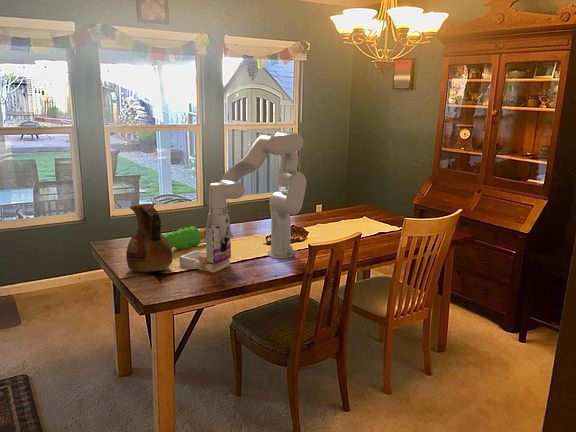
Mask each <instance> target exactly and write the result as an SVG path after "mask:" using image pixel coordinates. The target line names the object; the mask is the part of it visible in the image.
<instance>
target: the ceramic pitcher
mask: <svg viewBox="0 0 576 432" xmlns="http://www.w3.org/2000/svg"><path fill="white" fill-rule="evenodd" d="M154 206H155V203H140V204H138V203H137V204H133V205H131V206H129V209H130V210H132V211H133V212H134V214H135V216H136V217H135V218H136V221H137V230H136V232H135V233H134V234H133V235H132V236H131V238H130V240H129V241H128V244H127V247H126V255H125V257H126V264H127V266H128V269H129V270H132V271H134V272H141V273H142V272H143V273H145V272H147V273H148V272H156V271H164V270H166V269H167V270H168V268H169V267H170V266H171V264H172V262H173V251H172V249H171V247H170V244H169V242H168V241H167V239H166V238H165V237H164V235H163V234H162V233H161V230H162V229H161V227H162V222H161V218H160V214H159V212H158V211H157V210H156V208H155V207H154Z"/></svg>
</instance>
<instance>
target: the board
mask: <svg viewBox="0 0 576 432" xmlns="http://www.w3.org/2000/svg"><path fill="white" fill-rule="evenodd" d="M229 266H231V258H229V259H226V260H223V261H220V262H218V263H215V264H213V263H210V262H206V263H205V262H200V261H197V262H196V268H195V269H196V270H201V271H205V272H208V273H209V272H210V273H216V272H219V271H221V270H223V269H224V268H227V267H229Z"/></svg>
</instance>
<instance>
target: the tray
mask: <svg viewBox="0 0 576 432" xmlns="http://www.w3.org/2000/svg"><path fill="white" fill-rule="evenodd" d="M206 253H207V252H206V251H201V250H194V251H192V252H191V251H190V252H188V253H186V254H183V255H180V256H179V257H178V258H179V266H182V267H187V268H192V269H196V262H197V261H199V256H200V255H203V254H206Z"/></svg>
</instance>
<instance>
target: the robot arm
mask: <svg viewBox="0 0 576 432" xmlns="http://www.w3.org/2000/svg"><path fill="white" fill-rule="evenodd" d="M303 146H304V139H303V137H302V136H301V134H299V133H298V132H297V133H296V132H289V131H278V132H275V134H274V135H270V134H269V135H268V134H262V135H260V136H258V137H257V138H256V140H255V141H254V143H253V144H252V145H251V147H250V148H249V150H248V151H247V152H246V154H245V155H244V157H243V158H242V159H240V160H239V161H238V162H236V163H235V164H234V165H232V166H231V167H230V168H228V170H226V172H225V173H224V174H223V176H222V177H221V178H220V180H219V182H211V183H209V186H208V199H209V200H208V204H209V210H208V211H209V212H208V215H207V220H206V221H207V222H206V226H210V225H212V226H218V227H219V235H220V237H221V239H222V242H223V243H222V244H221V250H222V252H225V251H227V242H228V241H229V240H230V241H231V239H233V238H234V236H233V234H232V231H231V222H230V221H231V219H230V216H229V214H228V213H229V209H228V208H227V200H229V199H230V200H238V199H240V198H242V197H243V196H244V194H245V192H246V191H245V190H246V189H245V186H244V185H243V184H242V183H240V182H238V181H240V179H242V178H243V177H244V176H246V175H249V174H252V173H255V172H257V171H258V170H260V168H261V167H262V165H263V163H264V162H265V161H266V160H267V158H268V156H269V155H270V156H278V155H279V156H280V162H279V166H278V172H277V178H276V185H277V186H278V187H279V188H280V189H283V190H285V191H287V192H285V191H280V190H279V191H275V192H273V193H272V194H271V195H270V198H269V209H270V215H271V216H270V217H271V218H270V220H271V221H270V223H271V224H270V225H271V226H270V250H269V251H268V252H267V256H268V257H270V258H272V259H278V260H279V259H281V260H282V259H290V258H292V257H293V256H296V255H297V254H298V252H297V251H298V250H297V249H293V246H292V245H291V234H292V233H291V231H292V230H291V228H292V227H291V225H292V224H291V223H292V218H291V215H292V216H293V215H297V214H299V212H301V210H302V207H303V203H304V200H305V199H304V198H305V193H306V188H307V179H306V176H305V174H303V173H302V172H300V171H297V170H298V165H299V156H298V151H300V150H301V149H302V147H303ZM204 233H205V234H206V229H205V230H204ZM226 233H227V235H228V237H227V235H226ZM224 238H225V239H224Z"/></svg>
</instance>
